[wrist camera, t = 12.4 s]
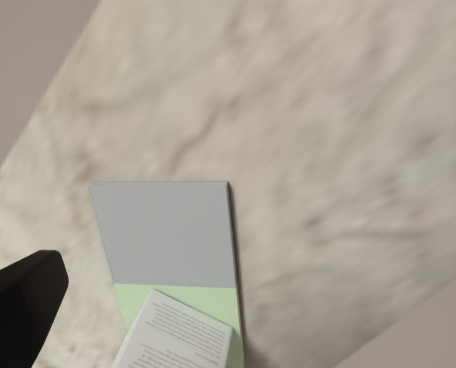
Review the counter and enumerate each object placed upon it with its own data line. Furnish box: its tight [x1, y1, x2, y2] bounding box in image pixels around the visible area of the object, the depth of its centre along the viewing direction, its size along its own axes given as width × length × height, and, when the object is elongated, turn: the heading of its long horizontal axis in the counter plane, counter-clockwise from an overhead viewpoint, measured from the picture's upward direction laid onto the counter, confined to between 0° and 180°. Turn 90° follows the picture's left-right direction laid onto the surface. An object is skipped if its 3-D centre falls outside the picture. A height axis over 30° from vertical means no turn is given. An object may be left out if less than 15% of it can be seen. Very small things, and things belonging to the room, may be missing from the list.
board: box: [88, 181, 245, 368], centre depth 27 cm, size 8×14×1 cm, turn 5°
